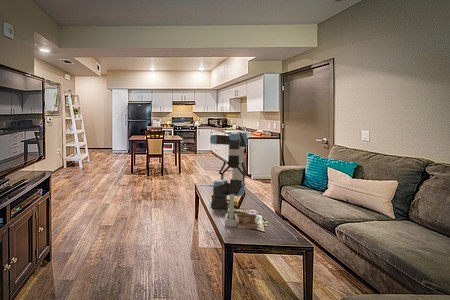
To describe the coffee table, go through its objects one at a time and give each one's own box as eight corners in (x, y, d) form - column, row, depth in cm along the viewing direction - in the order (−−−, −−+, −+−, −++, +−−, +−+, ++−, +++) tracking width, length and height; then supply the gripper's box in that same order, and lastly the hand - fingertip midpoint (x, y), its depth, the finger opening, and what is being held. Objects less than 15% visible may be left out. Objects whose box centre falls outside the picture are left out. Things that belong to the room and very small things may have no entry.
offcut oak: (241, 221, 235) (241, 219, 235) (247, 219, 239) (247, 217, 239) (245, 222, 233) (245, 220, 232) (251, 220, 237) (251, 218, 236)
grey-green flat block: (228, 224, 237) (229, 197, 234) (229, 220, 246) (230, 193, 244) (232, 225, 236) (234, 197, 234) (233, 220, 246) (234, 194, 244)
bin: (225, 220, 249) (225, 213, 248) (236, 220, 248) (237, 214, 248) (224, 226, 235) (225, 219, 234) (236, 227, 234) (236, 220, 234)
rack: (236, 221, 247) (237, 213, 247) (255, 222, 247) (256, 214, 246) (236, 227, 233) (237, 219, 233) (256, 228, 233) (257, 220, 232)
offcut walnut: (239, 223, 236) (239, 220, 236) (250, 221, 241) (250, 219, 241) (242, 225, 233) (242, 222, 233) (253, 223, 237) (253, 220, 237)
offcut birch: (239, 226, 238) (239, 222, 238) (253, 226, 239) (253, 222, 239) (239, 227, 234) (239, 224, 234) (254, 228, 235) (254, 224, 235)
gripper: (215, 154, 233) (214, 184, 235) (251, 156, 232) (250, 186, 234) (216, 153, 240) (215, 182, 243) (251, 154, 239) (250, 184, 242)
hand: (232, 184), depth 238 cm, fingers open, 13 cm apart
